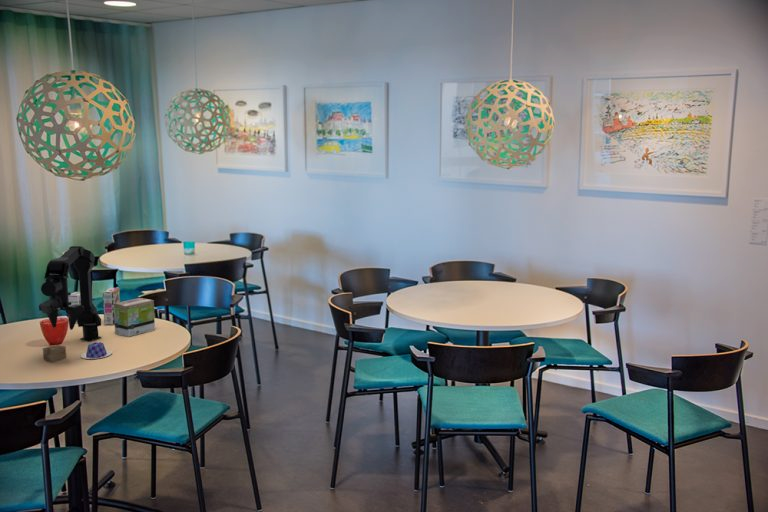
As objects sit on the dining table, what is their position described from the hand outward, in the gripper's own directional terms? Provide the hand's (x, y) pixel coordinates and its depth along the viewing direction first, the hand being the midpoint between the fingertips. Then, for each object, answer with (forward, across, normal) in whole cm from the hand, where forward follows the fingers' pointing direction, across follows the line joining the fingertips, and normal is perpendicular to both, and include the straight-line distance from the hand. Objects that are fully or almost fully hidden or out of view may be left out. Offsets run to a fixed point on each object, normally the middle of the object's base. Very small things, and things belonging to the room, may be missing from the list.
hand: (62, 328), depth 278 cm
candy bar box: (+12, -22, +51) cm, 57 cm away
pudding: (+13, +9, +8) cm, 18 cm away
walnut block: (+13, -3, -2) cm, 13 cm away
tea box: (+12, -1, +42) cm, 43 cm away
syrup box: (+12, -38, +45) cm, 60 cm away
